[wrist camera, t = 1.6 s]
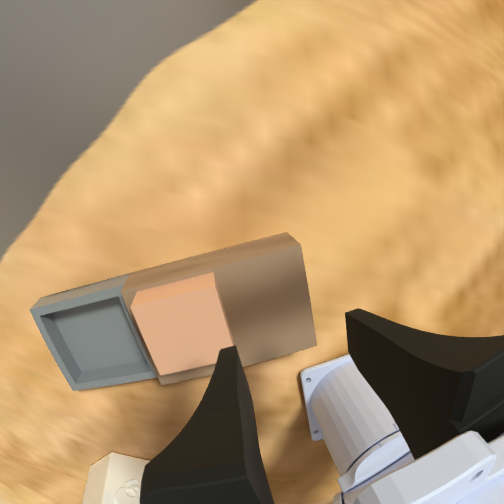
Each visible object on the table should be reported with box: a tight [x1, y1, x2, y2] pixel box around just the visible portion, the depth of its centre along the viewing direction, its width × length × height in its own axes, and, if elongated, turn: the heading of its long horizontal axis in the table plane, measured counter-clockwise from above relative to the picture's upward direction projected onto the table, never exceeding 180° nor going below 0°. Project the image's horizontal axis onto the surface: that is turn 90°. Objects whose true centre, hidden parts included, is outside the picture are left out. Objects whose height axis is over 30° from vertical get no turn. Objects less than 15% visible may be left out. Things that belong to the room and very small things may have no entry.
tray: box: [30, 274, 157, 391], centre depth 20 cm, size 7×8×2 cm
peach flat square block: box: [131, 272, 234, 375], centre depth 17 cm, size 4×4×2 cm
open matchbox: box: [120, 232, 317, 385], centre depth 20 cm, size 7×10×3 cm, turn 102°
